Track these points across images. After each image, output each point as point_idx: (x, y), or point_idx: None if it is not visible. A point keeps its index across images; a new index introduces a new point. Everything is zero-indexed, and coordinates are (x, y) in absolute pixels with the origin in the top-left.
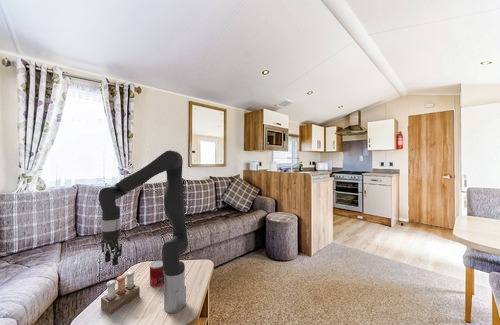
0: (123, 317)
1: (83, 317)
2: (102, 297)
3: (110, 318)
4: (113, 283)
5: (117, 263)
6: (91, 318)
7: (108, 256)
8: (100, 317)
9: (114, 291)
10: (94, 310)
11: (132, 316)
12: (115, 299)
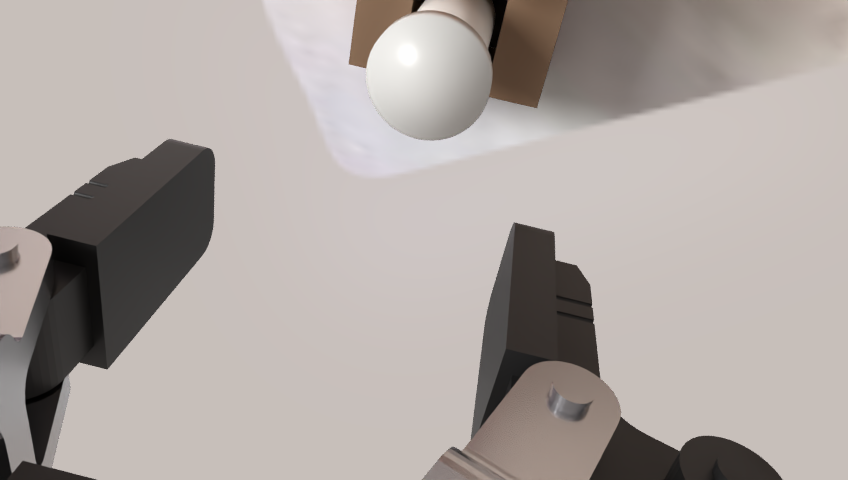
0: (694, 65)
1: (345, 157)
2: (358, 54)
3: (578, 107)
4: (483, 92)
5: (577, 275)
6: (417, 148)
7: (141, 263)
8: (480, 121)
9: (485, 32)
10: (346, 73)
11: (780, 29)
12: (531, 37)
